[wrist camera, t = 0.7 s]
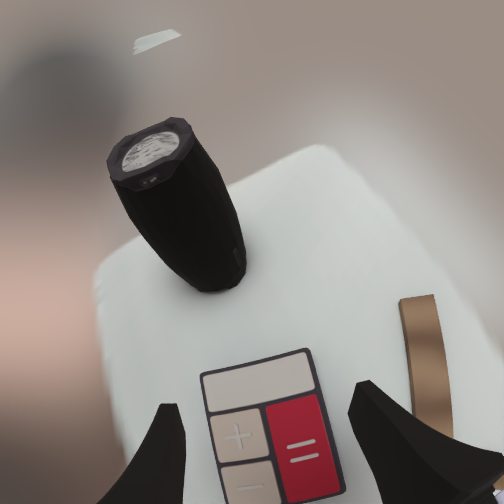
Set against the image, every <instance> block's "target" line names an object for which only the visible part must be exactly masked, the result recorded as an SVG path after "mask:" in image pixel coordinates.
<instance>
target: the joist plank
mask: <svg viewBox="0 0 504 504" xmlns="http://www.w3.org/2000/svg"><path fill="white" fill-rule="evenodd" d="M399 309H400V314H401V320H402V326H403V332H404V339H405V346H406V353H407V361H408V369H409V378H410V388H411V400H412V414H413V416H414V417H416V418H417V419H419V420H420V421H422V422H423V423H425V424H426V425H428V426H430V427H431V428H433V429H435V430H437V431H438V432H440V433H442V434H444V435H446V436H448V437H450V438H453V418H452V405H451V394H450V384H449V376H448V368H447V361H446V355H445V349H444V343H443V337H442V332H441V327H440V322H439V317H438V312H437V308H436V303H435V299H434V295H433V294H431V295H425V296H418V297H411V298H404V299H400V301H399Z"/></svg>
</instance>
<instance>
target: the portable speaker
mask: <svg viewBox="0 0 504 504" xmlns="http://www.w3.org/2000/svg"><path fill="white" fill-rule="evenodd" d="M107 167H108V170H109V173H110V178H111V180H112V183H113V185H114V187H115V189H116V191H117V193H118V196H119V197H120V200H121V202H122V204H123V206H124V208H125V210H126V212H127V214H128V216H129V218H130V219H131V220H132V222H133V223H134V225H135V226H136V228H137V229H138V230H139V232H140V233H141V235H142V236H143V237H144V239H145V240H146V241H147V242H148V244H149V245H150V246H151V247H152V248H153V250H154V251H155V252H156V253H157V254H158V255H159V257H160V258H161V259H162V260H163V261H164V263H165V264H166V265H167V266H168V267H169V268H171V269H172V270H173V271H174V272H175V273H176V274H178V275H179V276H180V277H181V278H183V279H184V280H185V281H186V282H188V283H189V284H190V285H191V286H193V287H195V288H196V289H198V290H199V291H200V292H201V291H218V290H220V289H224V288H232V287H234V286H237V285H238V283H239V282H240V280H241V279H242V277H243V276H244V274H245V271H246V257H245V256H246V250H245V246H244V241H243V237H242V232H241V228H240V224H239V220H238V217H237V213H236V210H235V208H234V206H233V203H232V201H231V198H230V196H229V194H228V191H227V189H226V186H225V184H224V181H223V179H222V177H221V174H220V172H219V169H218V168H217V167H216V165H215V164H214V162H213V161H212V159H211V158H210V157H209V155H208V154H207V152H206V151H205V149H204V148H203V147H202V145H201V144H200V143H199V141H198V140H197V138H196V136H195V135H194V132H193V131H192V128H191V126H190V125H189V124H188V123H187V122H186V120H185V119H182V118H174V117H170V118H168V119H167V120H165V121H163V122H161V123H158V124H155V125H153V126H151V127H148V128H146V129H144V130H141V131H139V132H137V133H135V134H132V135H128V136H125V137H124V138H123V139H122V140H121V141H120V142H119V143H117V144H116V145H115V146H114V148H113V150H112V151H111V153H110V155H109V157H108V159H107Z"/></svg>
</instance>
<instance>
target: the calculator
mask: <svg viewBox="0 0 504 504" xmlns="http://www.w3.org/2000/svg"><path fill="white" fill-rule="evenodd" d="M200 383H201V389H202V394H203V400H204V405H205V411H206V416H207V421H208V426H209V431H210V436H211V441H212V446H213V451H214V455H215V460H216V464H217V469H218V473H219V477H220V482H221V486H222V490H223V494H224V498H225V502H226V504H303V503H308V502H312V501H316V500H321V499H325V498H329V497H333V496H336V495H340V494H343V493H344V492H345V491H346V485H345V481H344V477H343V473H342V469H341V465H340V461H339V457H338V453H337V449H336V445H335V441H334V437H333V433H332V429H331V425H330V421H329V418H328V414H327V410H326V406H325V403H324V399H323V395H322V391H321V388H320V384H319V380H318V377H317V373H316V369H315V366H314V362H313V359H312V355H311V352H310V350H309V349H308V348H302V349H298V350H295V351H291V352H287V353H284V354H280V355H276V356H272V357H268V358H265V359H261V360H257V361H252V362H248V363H244V364H240V365H235V366H231V367H226V368H222V369H217V370H212V371H207V372H203V373H201V374H200Z"/></svg>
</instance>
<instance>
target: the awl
mask: <svg viewBox="0 0 504 504" xmlns="http://www.w3.org/2000/svg"><path fill="white" fill-rule="evenodd" d="M493 486H494V488H495V489H497V490H501V491H502V490H503V489H504V475H503V476H502V477H501V478H500V479H499V480H498V481H497V482H495V483H494V484H493Z"/></svg>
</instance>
